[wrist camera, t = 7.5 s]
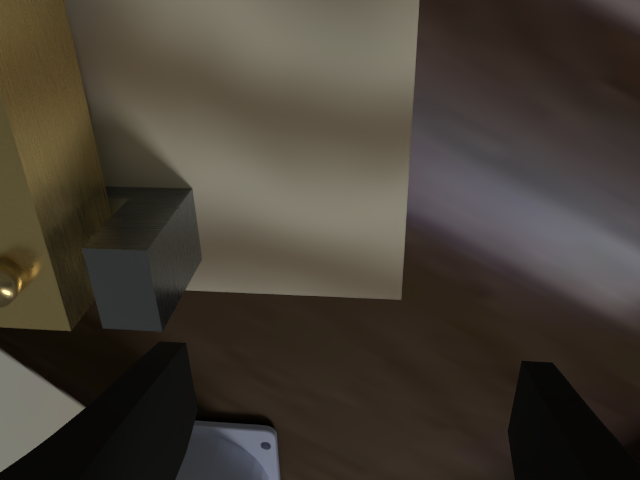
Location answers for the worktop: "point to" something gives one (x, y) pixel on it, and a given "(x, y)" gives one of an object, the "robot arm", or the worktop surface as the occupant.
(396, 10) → the jig board
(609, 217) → the worktop surface
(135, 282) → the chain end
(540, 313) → the worktop surface
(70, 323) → the master link
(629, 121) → the worktop surface
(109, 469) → the robot arm
